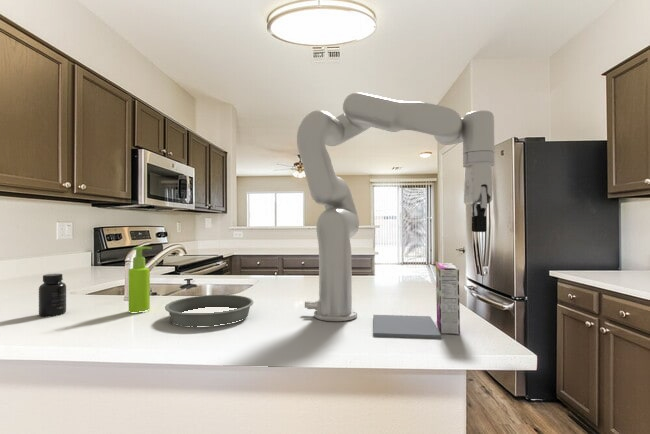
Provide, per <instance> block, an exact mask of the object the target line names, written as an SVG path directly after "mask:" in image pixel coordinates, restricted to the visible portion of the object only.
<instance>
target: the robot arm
mask: <svg viewBox="0 0 650 434" xmlns="http://www.w3.org/2000/svg"><path fill="white" fill-rule="evenodd" d="M342 111H343V113H341V114H340V115H338V116H336V117H335V116H334V115H332V114H331V113H330V112H328V111H324V110H319V109H318V110H316V109H315V110H312V111H311V112H309V113H308V114H306V116H305V117H304V118H303V119H302V120H301V122H300V124H299V126H298V128H297V134H296V146H297V149H298V150H297V151H298V154H299V156H300V159H301V160H300V161H301V163H302V167H303V172H304V175H305V179H306V181H307V186H308V189H309V192H310V193H309V194H310V196H311V198H312V200H313V201H314V202H315V203H317V204H318V205H321V206H324V209H325V210H324V211H322V212H321V213H320V215H319V216H318V219H317V221H316V228H315V229H316V236H317V243H318V244H317V245H318V288H319V289H318V297H319V298H318V300H315V301H308V300H307V301H304V309H306V310H314V311H313V316H314V318H316V319H318V320H320V321H325V322H345V321H351V320H353V319H356V318H357V317H358V312H357V310H354V309H353V307H352V305H353V303H352V302H353V301H352V300H353V297H352V295H353V294H352V293H353V292H352V291H353V288H352V283H353V282H352V281H353V280H352V279H353V277H352V276H353V275H352V273H353V272H352V270H353V269H352V264H353V263H352V246H351V245H352V244H351V238H353V237H354V236H355V235H356V234H357V232H358V230H359V227H360V219H359V215H358V212H357V209H356V206H355V202H354V198H353V196H352V193H351V190H350V187H349V185H348V184H347V182H346V180H344V179H343V178H342V177H339V176H338V175H337V174H336V172H335V170H334V167H333V163H332V159H331V157H330V154H329V152H328V149H327V147H336V146H339V145H342V144H343V143H346V142H347V141H349V140H351V139H353V138H354V137H357V136H359V135H360V134H362V133H364V132H365V131H367V130H369V129H370V128H375V129H379V130H383V131H387V132H391V133H398V132H401V131H413V132H418V133H423V134H427V135H431V136H433V137H434V139H435V141H437V143H438V144H440V145H443V146H451V145H457V144H461V143H462V167H463V168H465V173H464V189H463V204H464V205H467V206H468V205H471V206H470V208H471V209H470V211H471V232H473V233H486V232H487V209H488V204H490V203H491V202H492V201H493V192H494V191H493V172H492V170H493V169H492V167H495V116H494V114H493V112H491V111H489V110H481V109H480V110H473V111H471V112H467V113H466V114H465V115H464V116H463V117H461V115H460V114H459V113H458V112H457V111H456V110H455V109H453V108H450V107H449V106H442V105H439V104H434V103H429V102H424V101H408V100H405V101H404V100H396V99H391V98H387V97H382V96H379V95H373V94H370V93H369V94H368V93H363V92H352V93H349V94H348V95H347V96H346V98H345V99H344V101H343V103H342ZM326 146H327V147H326Z"/></svg>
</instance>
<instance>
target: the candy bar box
mask: <svg viewBox="0 0 650 434" xmlns="http://www.w3.org/2000/svg"><path fill="white" fill-rule="evenodd" d="M435 287H436V288H435V289H436V290H435V291H436V293H435V294H436V295H435V297H436V299H435V300H436V323H437V326H438V330H439V332H440V334H441V335H460V334H461V320H460V319H461V318H460V317H461V315H460V313H461V311H460V305H461V304H460V268H458V266H456V265H455V263H452V262H436V263H435Z"/></svg>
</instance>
